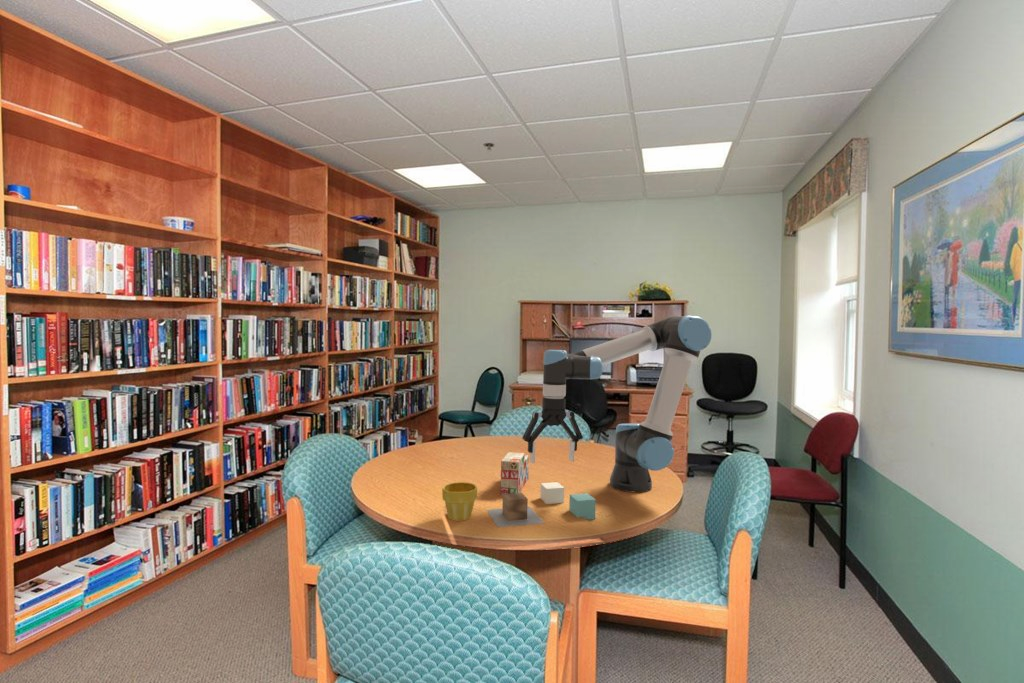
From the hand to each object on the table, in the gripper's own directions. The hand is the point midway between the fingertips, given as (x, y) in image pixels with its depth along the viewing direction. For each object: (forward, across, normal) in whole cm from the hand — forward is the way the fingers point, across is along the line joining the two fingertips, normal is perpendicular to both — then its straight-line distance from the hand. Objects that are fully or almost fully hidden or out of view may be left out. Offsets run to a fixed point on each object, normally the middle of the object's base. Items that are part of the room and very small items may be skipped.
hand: (552, 461), depth 166 cm
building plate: (+14, +16, +11) cm, 24 cm away
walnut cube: (+13, +16, +11) cm, 23 cm away
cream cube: (+14, 0, 0) cm, 14 cm away
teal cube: (+14, -5, +13) cm, 20 cm away
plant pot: (+14, +32, +7) cm, 35 cm away
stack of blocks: (+14, +7, -19) cm, 25 cm away
